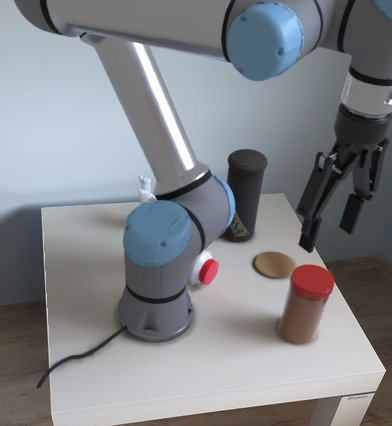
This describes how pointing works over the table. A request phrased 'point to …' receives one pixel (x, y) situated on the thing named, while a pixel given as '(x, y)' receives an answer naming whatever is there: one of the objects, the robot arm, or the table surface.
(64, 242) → the table surface
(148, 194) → the koala figurine
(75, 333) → the table surface
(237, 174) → the container
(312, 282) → the jar lid
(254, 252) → the table surface
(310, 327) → the sauce jar
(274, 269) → the coaster
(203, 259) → the pill bottle
